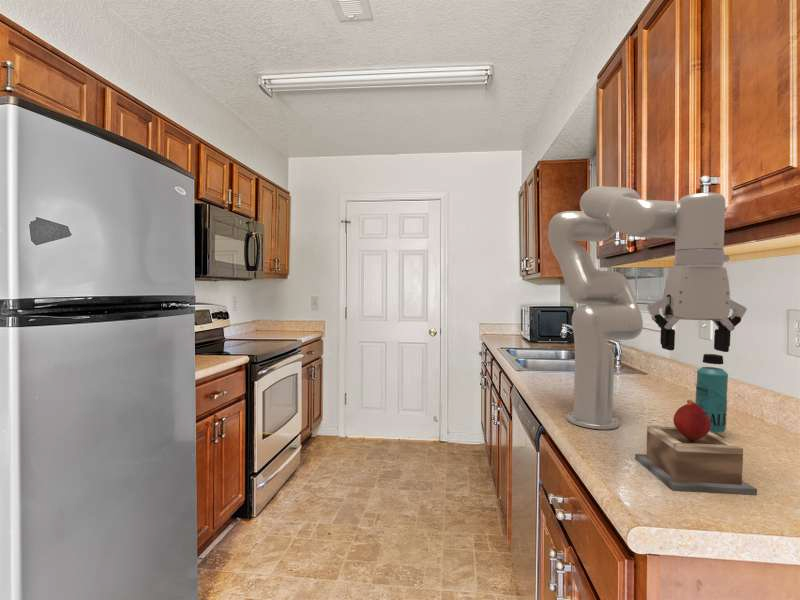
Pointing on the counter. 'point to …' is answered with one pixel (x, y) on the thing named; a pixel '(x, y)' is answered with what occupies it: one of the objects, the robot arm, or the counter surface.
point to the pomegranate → (692, 421)
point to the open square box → (694, 462)
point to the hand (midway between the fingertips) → (694, 350)
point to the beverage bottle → (713, 392)
